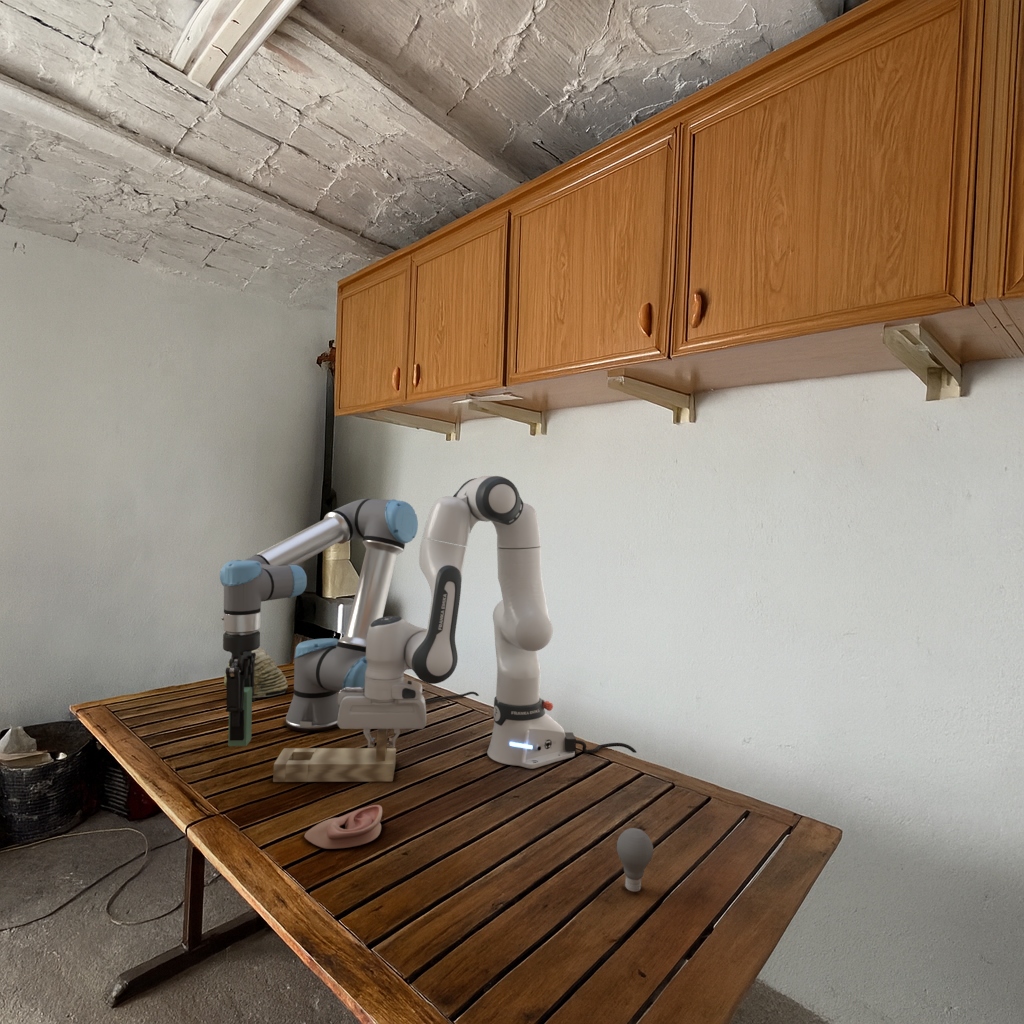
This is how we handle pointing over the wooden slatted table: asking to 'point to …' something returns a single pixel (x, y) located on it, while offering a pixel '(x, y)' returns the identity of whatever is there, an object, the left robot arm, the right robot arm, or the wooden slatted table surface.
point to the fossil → (266, 676)
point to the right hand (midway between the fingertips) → (381, 746)
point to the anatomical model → (347, 829)
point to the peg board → (337, 763)
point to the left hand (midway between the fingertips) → (240, 735)
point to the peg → (247, 719)
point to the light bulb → (634, 856)
